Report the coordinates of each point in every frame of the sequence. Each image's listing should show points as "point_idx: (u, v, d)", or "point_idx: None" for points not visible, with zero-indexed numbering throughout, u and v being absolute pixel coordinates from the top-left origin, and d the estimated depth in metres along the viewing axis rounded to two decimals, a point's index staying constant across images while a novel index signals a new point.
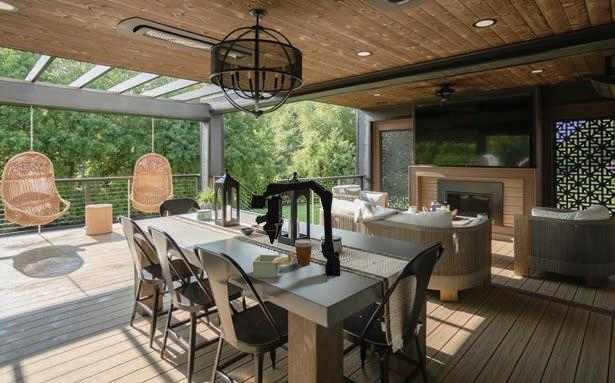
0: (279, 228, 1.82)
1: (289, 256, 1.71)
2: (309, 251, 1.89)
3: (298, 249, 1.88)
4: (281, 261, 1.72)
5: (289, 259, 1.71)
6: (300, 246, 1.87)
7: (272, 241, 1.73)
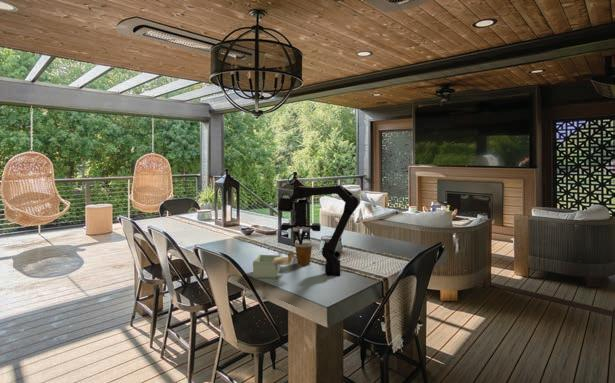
0: (301, 234, 1.77)
1: (289, 256, 1.71)
2: (309, 251, 1.89)
3: (298, 249, 1.88)
4: (281, 261, 1.72)
5: (289, 259, 1.71)
6: (300, 246, 1.87)
7: (299, 242, 1.79)
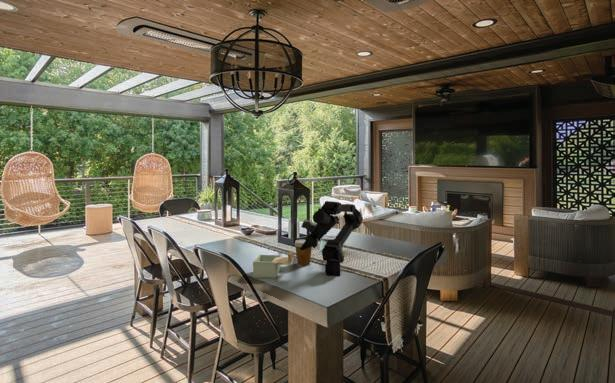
0: None
1: (289, 256, 1.71)
2: (309, 251, 1.89)
3: (298, 249, 1.88)
4: (281, 261, 1.72)
5: (289, 259, 1.71)
6: (300, 246, 1.87)
7: (303, 248, 1.72)
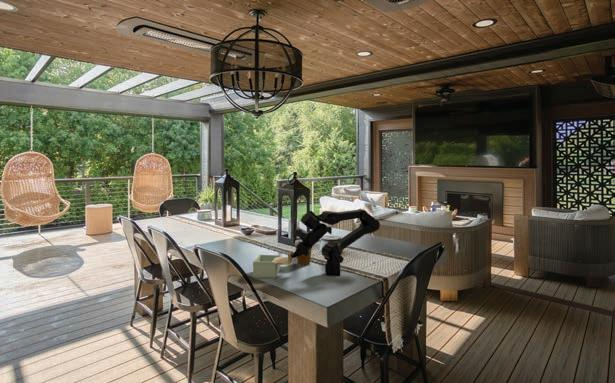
0: None
1: (289, 256, 1.71)
2: None
3: None
4: (281, 261, 1.72)
5: (289, 259, 1.71)
6: None
7: (294, 256, 1.72)
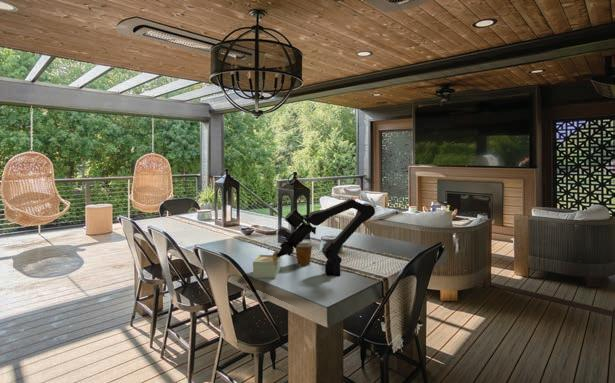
0: None
1: (274, 256, 1.71)
2: (309, 251, 1.89)
3: (298, 249, 1.88)
4: (266, 261, 1.73)
5: (274, 259, 1.72)
6: (300, 246, 1.87)
7: (279, 255, 1.73)
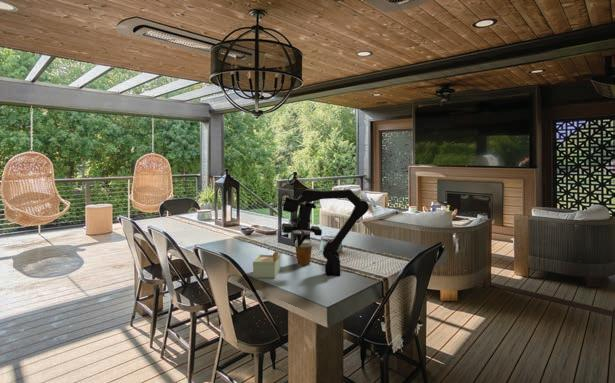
0: (302, 237, 1.76)
1: (274, 256, 1.71)
2: (309, 251, 1.89)
3: (298, 249, 1.88)
4: (266, 261, 1.73)
5: (274, 259, 1.72)
6: (300, 246, 1.87)
7: (297, 244, 1.77)
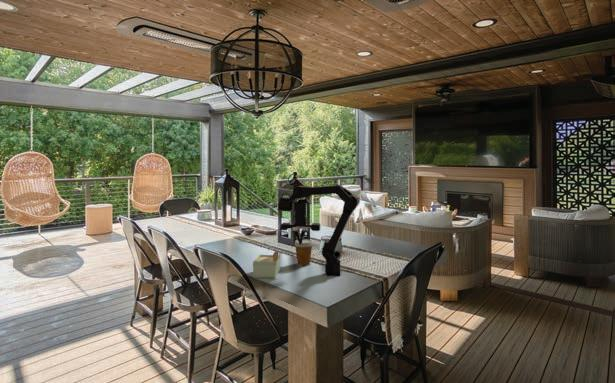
0: (301, 233, 1.77)
1: (274, 256, 1.71)
2: (309, 251, 1.89)
3: (298, 249, 1.88)
4: (266, 261, 1.73)
5: (274, 259, 1.72)
6: (300, 246, 1.87)
7: (298, 241, 1.79)
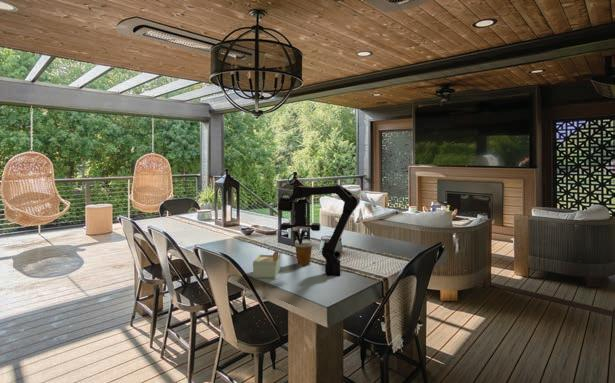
0: (301, 233, 1.77)
1: (274, 256, 1.71)
2: (309, 251, 1.89)
3: (298, 249, 1.88)
4: (266, 261, 1.73)
5: (274, 259, 1.72)
6: (300, 246, 1.87)
7: (298, 241, 1.79)
